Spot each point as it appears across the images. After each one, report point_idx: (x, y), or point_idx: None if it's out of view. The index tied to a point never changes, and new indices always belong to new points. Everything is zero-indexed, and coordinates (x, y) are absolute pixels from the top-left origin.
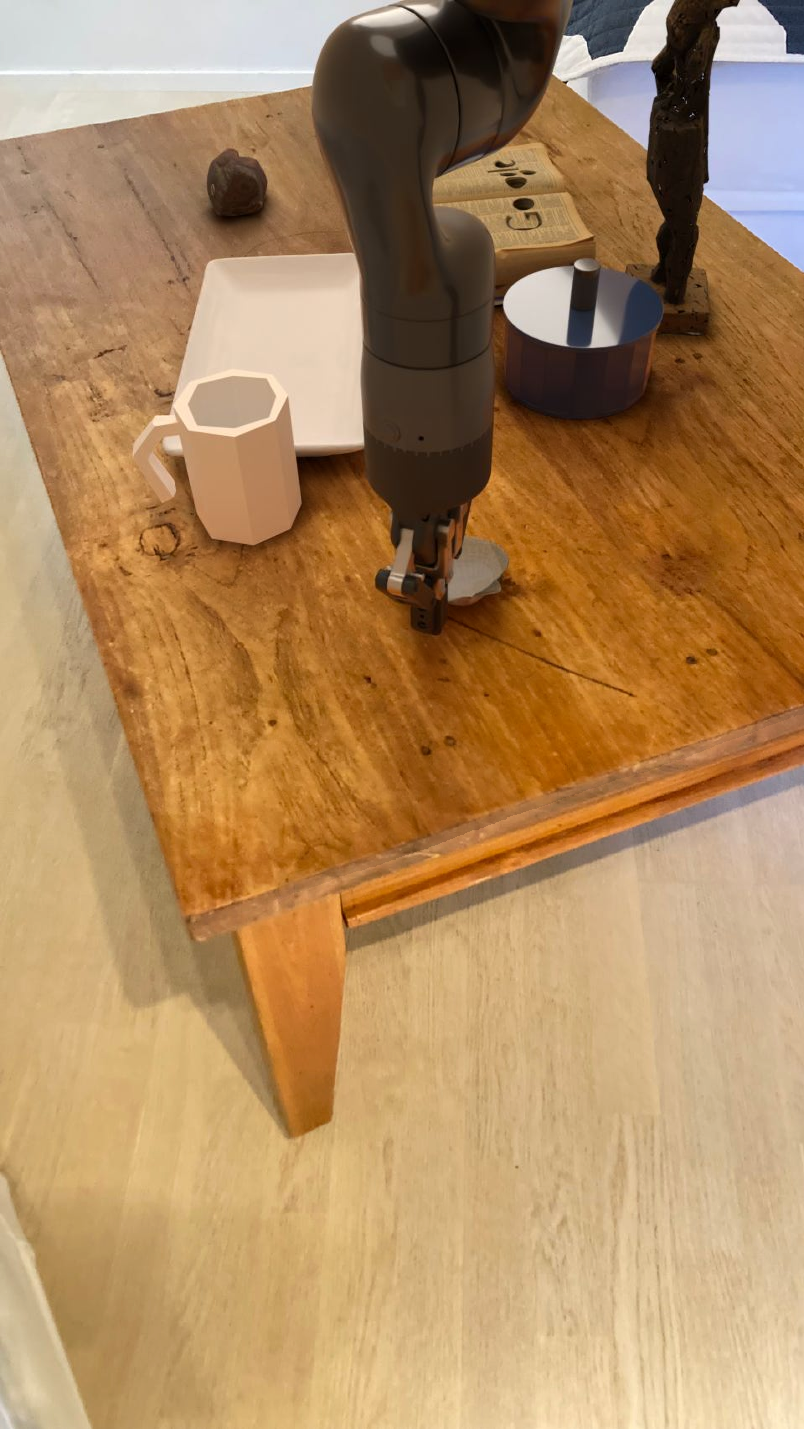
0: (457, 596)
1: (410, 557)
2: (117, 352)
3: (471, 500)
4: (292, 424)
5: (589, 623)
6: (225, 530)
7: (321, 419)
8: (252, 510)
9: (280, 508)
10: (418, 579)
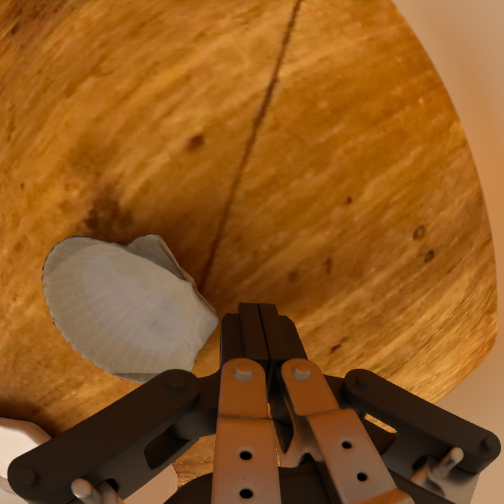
0: (158, 293)
1: (466, 502)
2: None
3: (61, 437)
4: None
5: (152, 65)
6: (174, 480)
7: (20, 437)
8: (164, 491)
9: None
10: (484, 456)
